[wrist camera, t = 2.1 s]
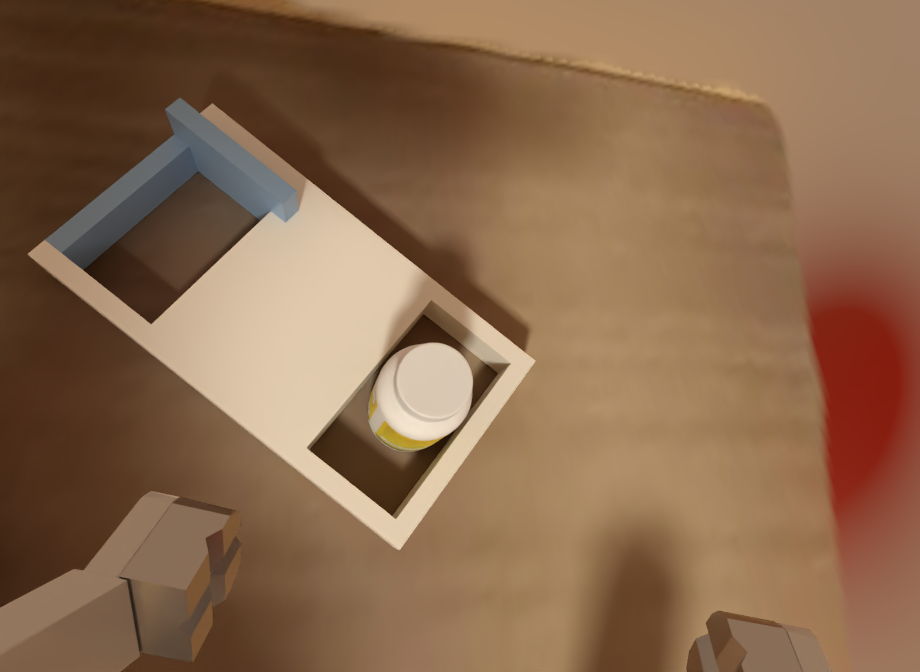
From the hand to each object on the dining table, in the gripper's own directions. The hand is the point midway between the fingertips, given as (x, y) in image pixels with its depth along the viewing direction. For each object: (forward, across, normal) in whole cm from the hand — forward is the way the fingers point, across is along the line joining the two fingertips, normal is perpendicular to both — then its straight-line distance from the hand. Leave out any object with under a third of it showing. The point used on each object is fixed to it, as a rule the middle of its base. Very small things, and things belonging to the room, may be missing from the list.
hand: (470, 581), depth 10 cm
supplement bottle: (+24, +4, +16) cm, 29 cm away
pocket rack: (+26, +12, +12) cm, 31 cm away
